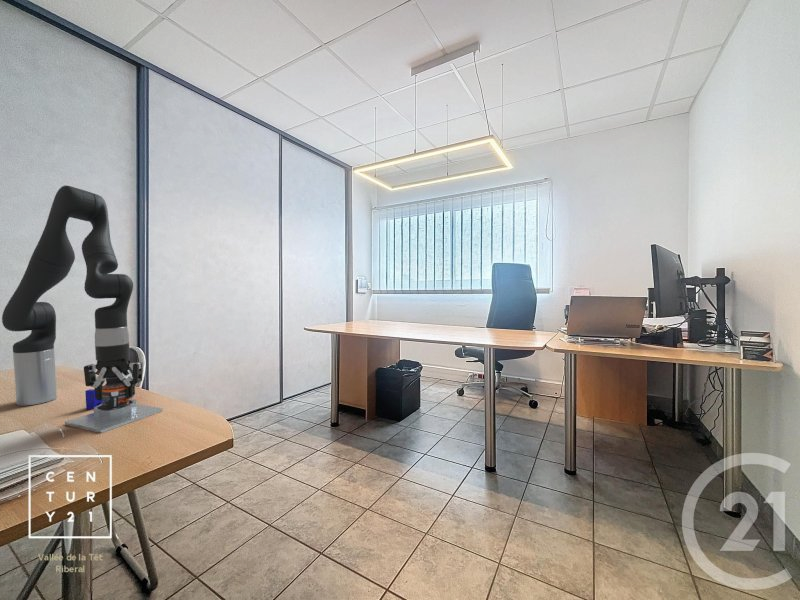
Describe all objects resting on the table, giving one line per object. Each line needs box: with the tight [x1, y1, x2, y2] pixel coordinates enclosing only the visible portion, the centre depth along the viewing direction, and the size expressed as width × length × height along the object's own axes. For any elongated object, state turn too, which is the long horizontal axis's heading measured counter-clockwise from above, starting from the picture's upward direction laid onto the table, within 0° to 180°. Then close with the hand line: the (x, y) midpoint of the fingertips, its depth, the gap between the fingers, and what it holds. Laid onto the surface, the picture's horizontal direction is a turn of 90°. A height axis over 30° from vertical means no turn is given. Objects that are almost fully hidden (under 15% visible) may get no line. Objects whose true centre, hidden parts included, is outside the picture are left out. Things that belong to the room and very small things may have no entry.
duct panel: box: [64, 398, 164, 434], centre depth 98 cm, size 16×16×4 cm
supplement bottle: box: [102, 377, 129, 410], centre depth 98 cm, size 6×6×11 cm
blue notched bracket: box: [84, 388, 103, 410], centre depth 111 cm, size 12×4×6 cm, turn 173°
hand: (115, 398), depth 98 cm, fingers open, 7 cm apart
